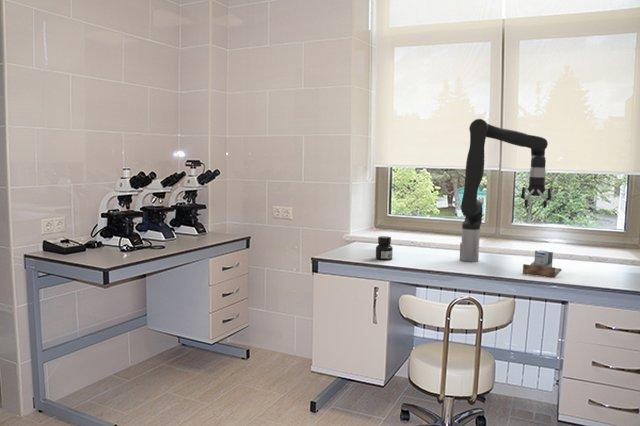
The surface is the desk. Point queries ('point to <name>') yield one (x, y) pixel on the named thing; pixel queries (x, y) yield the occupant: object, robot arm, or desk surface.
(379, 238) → the ink bottle
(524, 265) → the backstop
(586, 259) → the desk surface
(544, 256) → the medicine box
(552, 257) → the grey open lidded box
